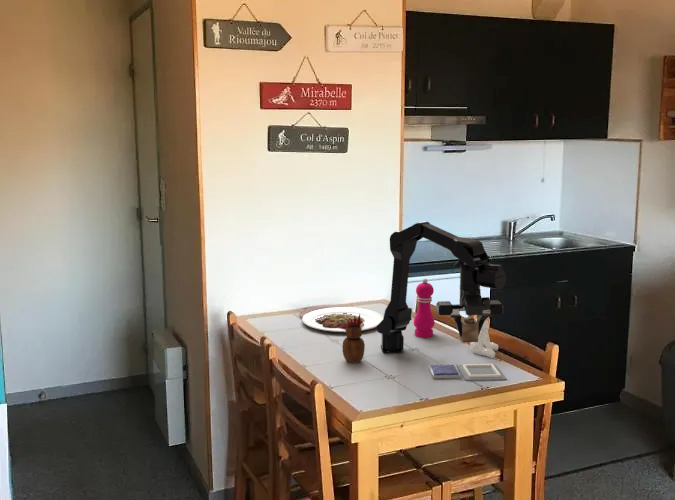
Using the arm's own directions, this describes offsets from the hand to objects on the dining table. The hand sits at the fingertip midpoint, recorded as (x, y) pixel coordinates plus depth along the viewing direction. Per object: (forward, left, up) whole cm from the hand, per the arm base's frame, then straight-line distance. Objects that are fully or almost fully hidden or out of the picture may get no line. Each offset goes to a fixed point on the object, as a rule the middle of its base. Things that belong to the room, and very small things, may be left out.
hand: (469, 336), depth 209 cm
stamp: (0, 0, -1) cm, 1 cm away
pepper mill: (-7, +38, -12) cm, 40 cm away
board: (+4, +1, -12) cm, 12 cm away
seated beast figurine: (+9, +19, -12) cm, 24 cm away
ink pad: (-7, +1, -12) cm, 13 cm away
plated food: (-34, +54, -12) cm, 64 cm away
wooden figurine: (-33, +13, -12) cm, 37 cm away
